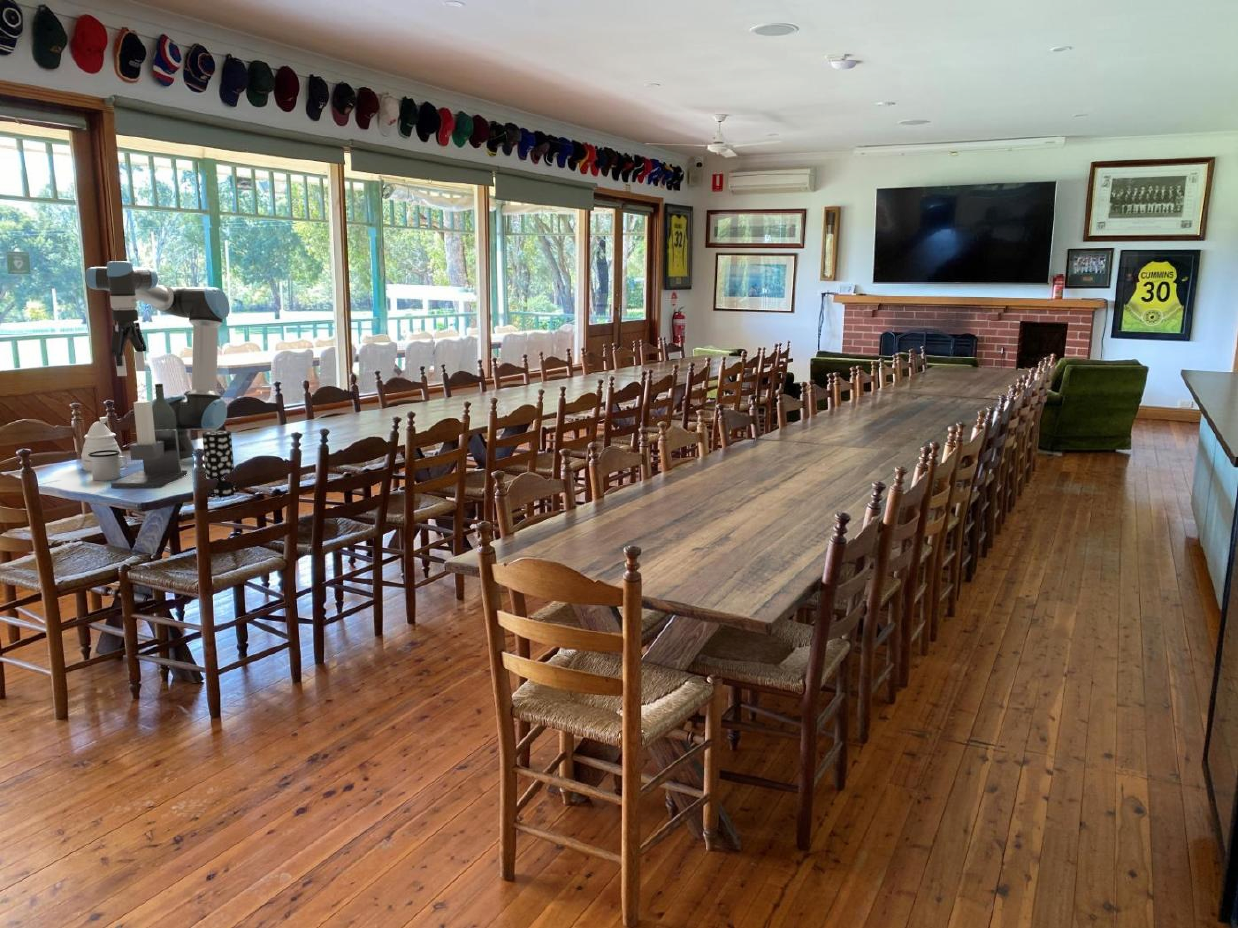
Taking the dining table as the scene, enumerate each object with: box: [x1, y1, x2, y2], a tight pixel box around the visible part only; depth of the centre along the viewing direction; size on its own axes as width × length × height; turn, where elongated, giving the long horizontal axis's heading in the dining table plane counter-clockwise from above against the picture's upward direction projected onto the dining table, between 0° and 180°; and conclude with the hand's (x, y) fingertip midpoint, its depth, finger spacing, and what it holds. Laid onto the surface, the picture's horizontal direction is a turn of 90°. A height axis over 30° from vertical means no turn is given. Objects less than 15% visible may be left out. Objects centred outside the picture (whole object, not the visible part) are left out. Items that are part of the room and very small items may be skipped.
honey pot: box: [80, 416, 124, 472], centre depth 331 cm, size 13×13×18 cm
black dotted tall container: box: [201, 430, 237, 499], centre depth 290 cm, size 8×8×20 cm
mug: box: [88, 450, 128, 482], centre depth 315 cm, size 12×10×9 cm
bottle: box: [152, 383, 176, 430], centre depth 333 cm, size 9×9×30 cm
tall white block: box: [133, 400, 156, 445], centre depth 308 cm, size 4×4×18 cm
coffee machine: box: [110, 430, 188, 489], centre depth 310 cm, size 20×16×16 cm
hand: (131, 373), depth 307 cm, fingers open, 13 cm apart
